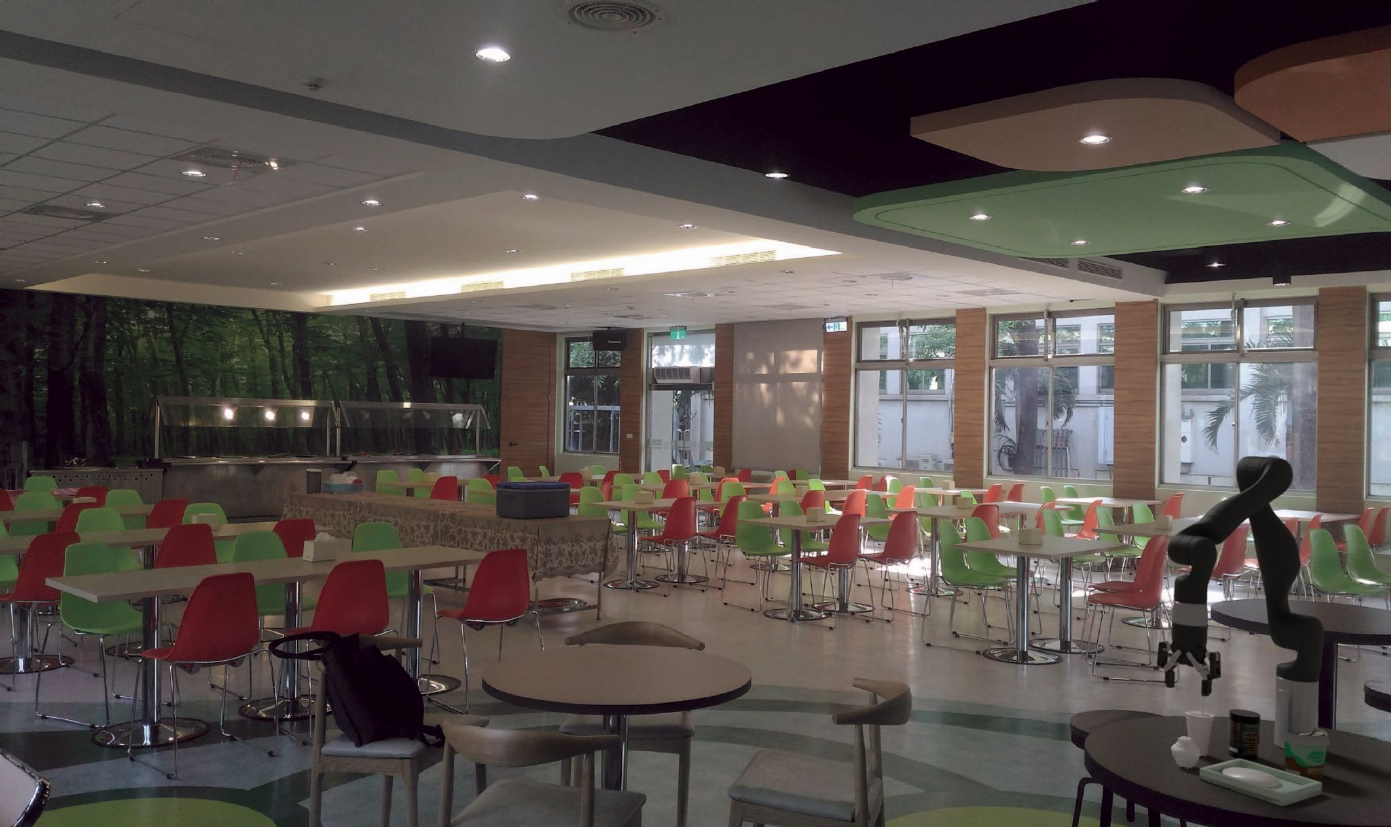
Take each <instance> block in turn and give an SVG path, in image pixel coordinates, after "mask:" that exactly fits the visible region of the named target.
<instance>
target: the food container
mask: <svg viewBox="0 0 1391 827" xmlns="http://www.w3.org/2000/svg"><path fill="white" fill-rule="evenodd" d="M1282 741H1284V748H1283V750H1284V771H1285V772H1288V773H1291V774H1295V775H1298V776H1302V777H1305V778H1308V779H1312V780H1315V781H1321V780H1322V779H1323V778H1324V770H1325V763H1326V754H1327V748H1328V747H1329V746H1330V744H1331V741H1330V737H1329V735H1328V732H1326V731H1325V730H1323V729H1321V728H1319V727H1318V728H1315V727H1314V728H1313V731H1311V732H1298V733H1295V734H1290V733H1286V732H1284V735H1283V739H1282Z"/></svg>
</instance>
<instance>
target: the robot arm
mask: <svg viewBox="0 0 1391 827" xmlns="http://www.w3.org/2000/svg"><path fill="white" fill-rule="evenodd" d="M1235 474H1236V475H1235V477H1236V483H1237V486H1238V489H1239V490H1238V491H1239V493H1237V494H1234V495H1232V496H1230V497H1228V498H1225V499H1223V500H1222V501H1220V502H1218V503H1217V504H1215V505H1213V506H1212V507H1211V508H1210V509H1209V510H1208V511H1207V512H1206V513H1205V514H1204V515H1203V516H1202V517H1201V518H1200V519H1199V520H1198V521H1196V522H1194V523H1192V524H1190V525H1188V526H1187V527H1185V528H1183V529H1181V530H1180V531H1177V533H1176V534H1174V535H1173V536H1172V537H1171V539H1170V540H1169V542H1168V545H1167V549H1166V552H1167V556H1168V558H1169V559H1170V560H1171V561H1172V562H1173V563H1175V564H1178V565H1181V566H1187V567H1188V566H1189V567H1191V569H1190V572H1189V574H1188V575H1187V574H1185V575H1179V576H1177V577H1176V578H1175V579H1174V582H1173V584H1174V585H1173V604H1172V610H1171V634H1170V636H1171V640H1172V641H1171V643H1170V642H1169V641H1168V640H1164V641H1159V642H1158V647H1157V648H1158V649H1157V656H1156V657H1157V659H1156V666H1157V667H1159V668H1162V669H1163V671H1164V684H1165V685H1166V686H1165V687H1166V688H1168V689H1173V688H1175V682H1176V681H1175V679H1176V671H1174V670H1175V669H1176V668H1177V666H1178V665H1182V666H1187V667H1190V668H1194V669H1195V670H1196V672H1198V673H1199V675H1200V677H1201V685H1200V688H1201V689H1200V695H1201V696H1204V698H1205V697H1209V696H1210V695H1211V694H1212V690H1213V688H1212V687H1213V686H1212V685H1213V683H1212V682H1213V680H1215V679H1220V678H1222V663H1221V661H1222V660H1221V653H1220V652H1219V651H1209V650H1208V649H1207V644H1208V632H1209V630H1208V626H1209V624H1208V623H1209V611H1208V587H1209V584H1210V581H1211V577H1212V574H1213V571H1214V568H1215V566H1216V562H1217V559H1218V550H1217V547H1216V546H1217V545H1221V544H1222V543H1224V542H1225V541H1226V540H1227V539H1228V538H1229V537H1230V536H1231V535H1232V534H1233V533H1234V532H1235V531H1236V530H1237V529H1238V528H1239V527H1240V526H1241V525H1242V524H1243V523H1245V521H1246V520H1248V521H1249V524H1250V529H1251V533H1252V538H1253V544H1254V550H1255V554H1256V558H1257V564H1258V567H1259V568H1258V569H1259V571H1260V576H1261V580H1262V581H1261V582H1262V586H1263V591H1264V597H1265V605H1266V615H1267V623H1268V624H1267V625H1268V632H1269V635H1270V638H1271V641H1272V642H1273V644H1274V645H1275V646H1277V647H1279V648H1283V649H1287V650H1290V651H1295V652H1297V654H1296V659H1295V660H1291V661H1287V662H1281V663H1278V664H1277V665H1276V667H1275V668H1276V669H1275V700H1274V702H1275V706H1274V710H1275V711H1274V736H1273V737H1274V739H1273V742H1274V745H1275V746H1276V747H1278V748H1282V749H1284V741H1282V739H1283V735H1284V732H1286V733H1290V734H1295V733H1298V732H1311V731H1313V728H1314V727H1315V728H1318V729H1319V688H1320V687H1319V685H1320V684H1319V683H1320V682H1319V680H1320V673H1321V669H1322V664H1323V651H1324V641H1325V640H1324V639H1325V635H1324V634H1325V630H1324V626H1323V622H1322V621H1321V620H1320V619H1319V618H1318V617H1315V616H1312V615H1308V614H1307V615H1306V614H1301V613H1295V612H1293V611H1291V609H1290V604H1289V593H1290V591H1291V590H1290V589H1291V588H1292V586H1293V584H1294V583H1295V581H1296V579H1297V578H1298V575H1299V573H1300V571H1301V568H1302V567H1301V565H1302V564H1301V561H1302V560H1301V556H1300V552H1299V547H1298V543H1297V540H1296V538H1295V535H1293V533H1292V532H1291V530H1290V529H1289V528H1288V527H1287V526H1286V524H1285V523H1284V522H1283V521H1282V520H1281V518H1280V517H1279V516H1278V515H1277V513H1275V511H1274V509H1273V508H1272V506H1271V504H1270V503H1272V502H1273V501H1274V500H1276V499H1277V498H1279V497H1280V496H1282V495H1284V493H1285V492H1287V491H1288V490H1289V488H1290V487H1291V485H1292V482H1293V478H1294V472H1293V467H1292V465H1291V464H1290V462H1289V461H1287V460H1286V459H1284V458H1281V457H1274V456H1256V455H1255V456H1254V455H1250V456H1248V455H1247V456H1244V457H1243V456H1242V458H1240V459H1239V461H1238V462H1237V465H1236V472H1235ZM1169 652H1171V653H1172V656H1171V657H1170V658H1169ZM1205 659H1207V660H1208V662H1209V664H1208V662H1207V661H1206V660H1205Z"/></svg>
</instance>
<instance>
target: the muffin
mask: <svg viewBox="0 0 1391 827" xmlns="http://www.w3.org/2000/svg"><path fill="white" fill-rule="evenodd" d="M1170 751H1171V753H1172V756H1173V759H1174V761H1175V763H1176V765H1177V766H1178V765H1179V766H1178V767H1180V768H1182V767H1188V768H1187V769H1189V768H1191V767H1193V768H1195V766H1196V764H1197V763H1198V761H1199V759H1200V758H1199V757H1201V756H1200V754H1201V753H1200V750H1199V749H1198V748H1197V747H1196V745H1195V742H1194V740H1193V739H1192V738H1190V737H1188V735H1187V736H1184V735H1183V736H1180V737H1178V738H1177V741H1176V742H1175V743H1174V744H1173V745H1172V746H1171V747H1170ZM1191 769H1192V768H1191Z"/></svg>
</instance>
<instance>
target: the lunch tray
mask: <svg viewBox="0 0 1391 827" xmlns="http://www.w3.org/2000/svg"><path fill="white" fill-rule="evenodd" d="M1199 778H1201V779H1202V780H1206V781H1208V782H1207V783H1209V782H1212V783H1214V784H1213V785H1215V784H1218V785H1220V786H1219V787H1221V786H1224V787H1226V788H1225V789H1227V788H1230V789H1231V791H1233V790H1235V791H1234V792H1236V793H1240V794H1243V795H1246V796H1249V797H1252V798H1256V799H1259V800H1262V801H1265V802H1268V803H1271V804H1274V805H1277V806H1281V807H1284V806H1288V805H1291V804H1295V803H1297V802H1301V801H1304V800H1307V799H1310V798H1313V797H1317V796H1320V795H1322V791H1323V790H1322V788H1323V787H1322V786H1323V783H1322V781H1320V780H1312V779H1308V778H1305V777H1302V776H1298V775H1295V774H1291V773H1288V772H1285V770H1282V769H1281V770H1280V769H1277V768H1273V767H1270V766H1267V765H1264V764H1261V763H1257V762H1254V761H1252V760H1244V759H1240V758H1234V759H1230V760H1227V761H1223V762H1220V763H1219V762H1218V763H1215V764H1212V765H1207V766H1204V767H1200V768H1199ZM1202 780H1201V781H1202ZM1206 781H1205V782H1206ZM1212 783H1211V784H1212ZM1218 785H1217V786H1218ZM1224 787H1223V788H1224ZM1230 789H1229V790H1230Z"/></svg>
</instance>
